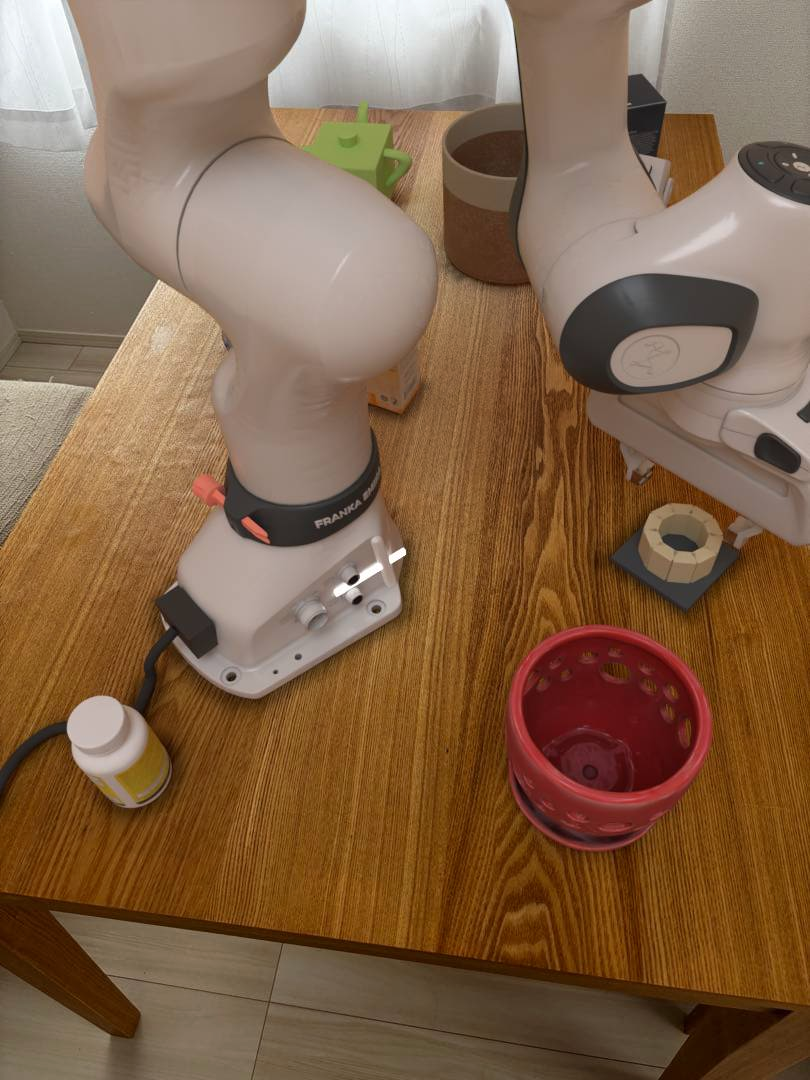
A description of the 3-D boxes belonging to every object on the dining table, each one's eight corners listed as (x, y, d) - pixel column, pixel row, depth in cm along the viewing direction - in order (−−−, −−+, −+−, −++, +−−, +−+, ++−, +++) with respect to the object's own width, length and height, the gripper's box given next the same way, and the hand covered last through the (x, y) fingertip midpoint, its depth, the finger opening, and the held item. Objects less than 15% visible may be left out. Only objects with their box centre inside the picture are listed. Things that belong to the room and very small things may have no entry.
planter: (427, 277, 103) (423, 168, 92) (464, 203, 111) (464, 95, 100) (560, 298, 99) (572, 187, 88) (587, 219, 108) (601, 109, 97)
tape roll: (688, 596, 74) (695, 576, 71) (623, 554, 77) (628, 533, 74) (729, 551, 76) (738, 530, 74) (665, 512, 79) (671, 491, 77)
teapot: (371, 169, 117) (364, 89, 109) (434, 210, 111) (432, 129, 102) (277, 213, 112) (262, 134, 104) (338, 260, 106) (327, 178, 97)
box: (652, 183, 112) (668, 101, 103) (611, 191, 111) (623, 109, 103) (629, 152, 116) (642, 71, 108) (589, 159, 116) (599, 78, 107)
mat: (685, 613, 73) (687, 609, 73) (609, 560, 77) (610, 556, 77) (738, 557, 76) (740, 553, 76) (662, 509, 80) (663, 504, 80)
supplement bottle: (177, 740, 69) (140, 683, 61) (168, 807, 66) (128, 756, 58) (110, 744, 69) (64, 688, 61) (98, 811, 66) (48, 761, 58)
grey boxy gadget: (615, 223, 110) (606, 194, 101) (633, 171, 109) (625, 137, 100) (661, 233, 108) (655, 205, 99) (679, 180, 107) (676, 147, 98)
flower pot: (663, 890, 60) (700, 834, 51) (480, 832, 63) (483, 769, 54) (689, 724, 67) (726, 647, 58) (524, 679, 71) (534, 599, 61)
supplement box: (332, 396, 92) (314, 294, 81) (353, 367, 94) (339, 264, 83) (402, 417, 89) (393, 315, 79) (422, 387, 92) (416, 284, 81)
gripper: (580, 338, 64) (561, 465, 75) (840, 481, 54) (774, 603, 65) (632, 298, 66) (606, 427, 77) (888, 429, 57) (817, 554, 68)
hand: (685, 509), depth 71 cm, fingers open, 8 cm apart
